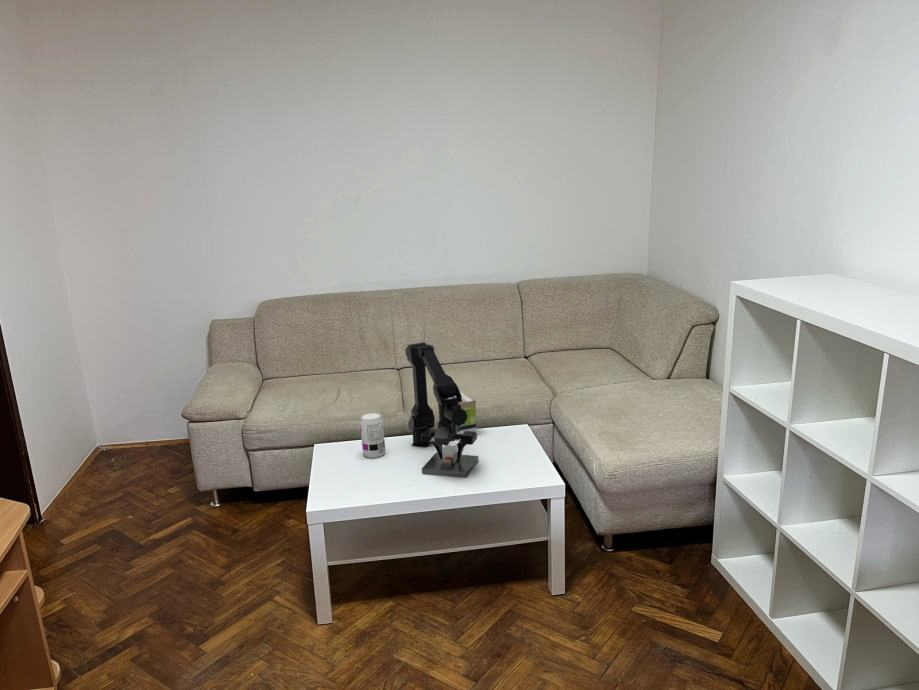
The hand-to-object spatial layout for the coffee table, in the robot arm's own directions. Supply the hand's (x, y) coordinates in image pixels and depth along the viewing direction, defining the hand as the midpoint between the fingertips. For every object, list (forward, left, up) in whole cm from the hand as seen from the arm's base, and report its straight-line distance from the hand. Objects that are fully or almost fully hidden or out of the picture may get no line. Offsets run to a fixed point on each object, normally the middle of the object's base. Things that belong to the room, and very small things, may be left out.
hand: (450, 459), depth 249 cm
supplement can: (-32, +6, -3) cm, 33 cm away
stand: (0, 0, -3) cm, 3 cm away
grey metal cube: (0, 0, -1) cm, 1 cm away
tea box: (-8, +33, -3) cm, 34 cm away
